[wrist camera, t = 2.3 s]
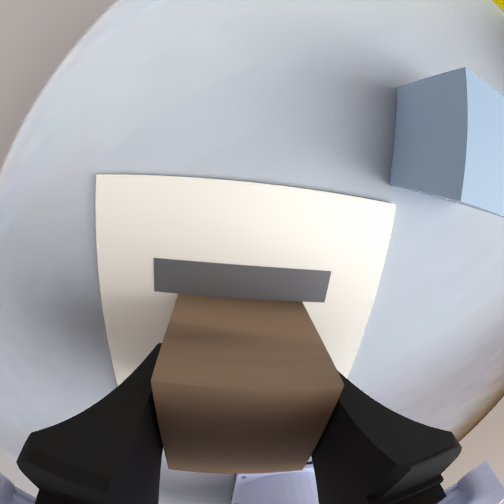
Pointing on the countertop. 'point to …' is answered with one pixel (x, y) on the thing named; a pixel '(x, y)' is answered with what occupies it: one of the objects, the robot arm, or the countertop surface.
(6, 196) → the countertop surface
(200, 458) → the walnut block
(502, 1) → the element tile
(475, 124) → the dusty blue cube
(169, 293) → the letter card
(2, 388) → the countertop surface
